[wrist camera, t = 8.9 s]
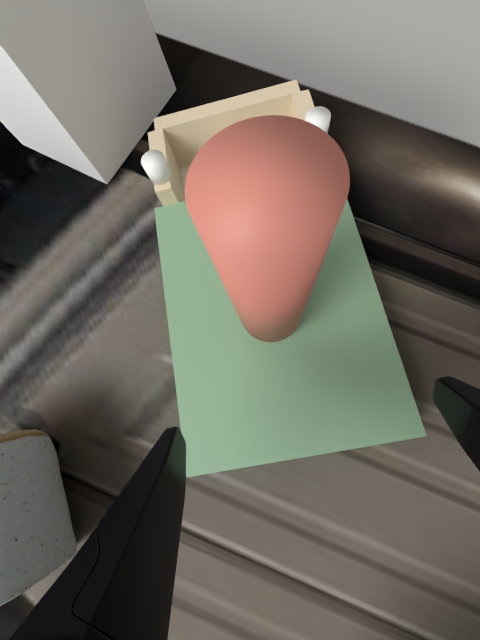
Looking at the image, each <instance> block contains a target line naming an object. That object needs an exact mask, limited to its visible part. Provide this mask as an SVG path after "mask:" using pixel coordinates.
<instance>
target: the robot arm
mask: <svg viewBox="0 0 480 640" xmlns="http://www.w3.org/2000/svg"><path fill="white" fill-rule="evenodd" d="M433 400H434V402H435V404H436V406H437V407H438V409H439V411H440V412H441V414H442V416H443V417H444V419H445V421H446V422H447V424H448V426H449V427H450V429H451V431H452V432H453V434H454V436H455V437H456V439H457V441H458V442H459V444H460V445H461V447H462V448H463V449H464V451H465V452H466V454H467V455H468V456H469V458H470V459H471V460H472V462H473V463H474V464H475V466H476V467H477V468H478V470H479V471H480V389H477V388H475V387H473V386H471V385H469V384H466V383H464V382H462V381H460V380H458V379H455V378H453V377H450V376H447V377H441V378H437V379H436V380H435V385H434V391H433ZM185 486H186V442H185V439H184V437H183V435H182V433H181V431H180V429H179V428H178V427H171V428H167V429H166V430H165V431H164V432H163V434H162V435H161V437H160V438H159V439H158V441H157V442H156V444H155V445H154V447H153V448H152V449H151V451H150V452H149V454H148V455H147V456H146V458H145V459H144V461H143V462H142V463H141V465H140V466H139V468H138V469H137V470H136V472H135V473H134V475H133V476H132V477H131V479H130V480H129V482H128V483H127V484H126V486H125V487H124V489H123V490H122V491H121V493H120V494H119V496H118V497H117V498H116V500H115V501H114V503H113V504H112V506H111V507H110V508H109V510H108V511H107V513H106V514H105V515H104V517H103V518H102V520H101V521H100V522H99V524H98V525H97V528H95V529H94V531H93V532H92V533H91V535H90V536H89V538H88V539H87V541H86V542H85V543H84V545H83V546H82V547H81V549H80V550H79V551H78V553H77V554H76V555H75V557H74V558H73V560H72V561H71V562H70V563H69V565H68V566H67V567H66V568H65V570H64V571H63V572H62V574H61V575H60V576H59V577H58V579H57V580H56V581H55V582H54V584H53V585H52V586H51V587H50V589H49V590H48V591H47V592H46V594H45V595H44V596H43V597H42V598H41V600H40V601H39V602H38V603H37V605H36V606H35V607H34V608H33V610H32V611H31V612H30V613H29V614H28V616H27V617H26V618H25V619H24V621H23V622H22V623H21V624H20V626H19V627H18V628H17V629H16V630H15V632H14V633H13V634H12V635H11V636H10V638H9V639H8V640H167V638H168V629H169V621H170V613H171V605H172V597H173V589H174V581H175V572H176V564H177V556H178V548H179V540H180V532H181V524H182V515H183V507H184V499H185Z"/></svg>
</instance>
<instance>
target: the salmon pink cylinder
mask: <svg viewBox="0 0 480 640" xmlns="http://www.w3.org/2000/svg"><path fill="white" fill-rule="evenodd" d="M349 186H350V174H349V168H348V163H347V161H346V158H345V156H344V153H343V152H342V150H341V148H340V147H339V145H338V144H337V143H336V142H335V140H334V139H333V138H332V137H331V136H330V135H329V134H327V133H326V132H325V131H323V130H322V129H321V128H319V127H317V126H316V125H314V124H312V123H310V122H307V121H304V120H302V119H298V118H294V117H289V116H282V115H267V116H258V117H253V118H249V119H245V120H242V121H239V122H237V123H234V124H232V125H230V126H228V127H226V128H224V129H223V130H221V131H220V132H218V133H217V134H215V135H214V136H213V137H212V138H210V139H209V140H208V141H207V142H206V143H205V144H204V145H203V146H202V147H201V149H200V150H199V151H198V153H197V154H196V156H195V157H194V159H193V161H192V163H191V165H190V167H189V170H188V173H187V177H186V181H185V200H186V205H187V209H188V211H189V214H190V216H191V219H192V221H193V223H194V225H195V227H196V229H197V231H198V233H199V235H200V237H201V239H202V241H203V243H204V245H205V247H206V250H207V252H208V254H209V256H210V258H211V260H212V262H213V264H214V266H215V268H216V270H217V272H218V274H219V276H220V278H221V281H222V283H223V285H224V287H225V289H226V291H227V293H228V295H229V297H230V299H231V301H232V303H233V305H234V307H235V309H236V312H237V314H238V316H239V318H240V320H241V322H242V324H243V326H244V328H245V329H246V331H247V332H248V333H249V334H250V335H251V336H253V337H254V338H256V339H258V340H260V341H264V342H278V341H281V340H284V339H286V338H287V337H289V336H290V335H291V334H292V333H294V331H295V330H296V329H297V327H298V325H299V323H300V320H301V318H302V315H303V312H304V310H305V307H306V305H307V302H308V299H309V297H310V294H311V292H312V289H313V286H314V284H315V281H316V279H317V276H318V273H319V271H320V268H321V266H322V263H323V260H324V258H325V255H326V252H327V250H328V247H329V245H330V242H331V239H332V237H333V234H334V232H335V229H336V226H337V224H338V221H339V219H340V216H341V213H342V211H343V208H344V206H345V203H346V200H347V196H348V193H349Z"/></svg>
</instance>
